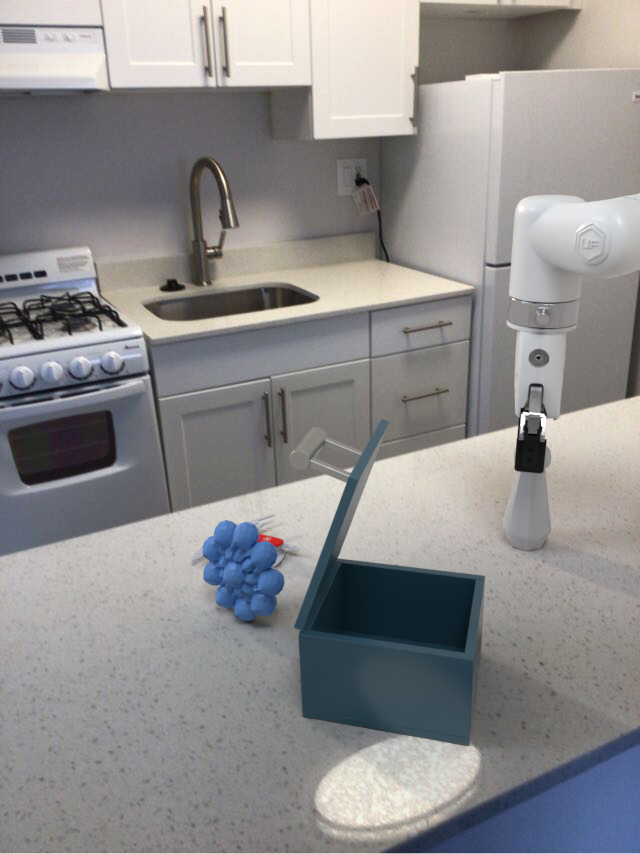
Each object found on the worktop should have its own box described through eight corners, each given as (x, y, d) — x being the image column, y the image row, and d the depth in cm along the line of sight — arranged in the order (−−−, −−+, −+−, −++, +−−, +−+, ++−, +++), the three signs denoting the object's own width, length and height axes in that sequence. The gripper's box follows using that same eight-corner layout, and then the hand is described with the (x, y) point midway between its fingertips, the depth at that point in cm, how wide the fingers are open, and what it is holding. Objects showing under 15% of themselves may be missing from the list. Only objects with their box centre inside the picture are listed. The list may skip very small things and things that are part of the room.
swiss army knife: (324, 534, 97) (323, 521, 97) (269, 589, 86) (268, 574, 85) (248, 517, 102) (247, 504, 102) (187, 567, 91) (186, 552, 90)
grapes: (313, 620, 80) (309, 520, 76) (268, 652, 75) (261, 547, 71) (237, 582, 87) (230, 489, 83) (192, 609, 83) (181, 511, 78)
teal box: (480, 652, 74) (485, 575, 71) (469, 746, 63) (473, 660, 60) (337, 631, 78) (335, 557, 75) (302, 716, 67) (298, 634, 64)
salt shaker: (491, 541, 94) (497, 445, 89) (519, 526, 98) (526, 432, 93) (531, 559, 90) (539, 459, 85) (559, 543, 93) (568, 446, 89)
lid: (389, 421, 68) (326, 396, 69) (358, 480, 57) (283, 449, 58) (338, 555, 75) (281, 531, 76) (302, 631, 64) (235, 602, 64)
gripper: (581, 334, 75) (564, 489, 81) (575, 297, 90) (561, 430, 97) (503, 330, 77) (492, 482, 83) (510, 294, 92) (501, 425, 98)
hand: (529, 454), depth 90 cm, fingers open, 9 cm apart
